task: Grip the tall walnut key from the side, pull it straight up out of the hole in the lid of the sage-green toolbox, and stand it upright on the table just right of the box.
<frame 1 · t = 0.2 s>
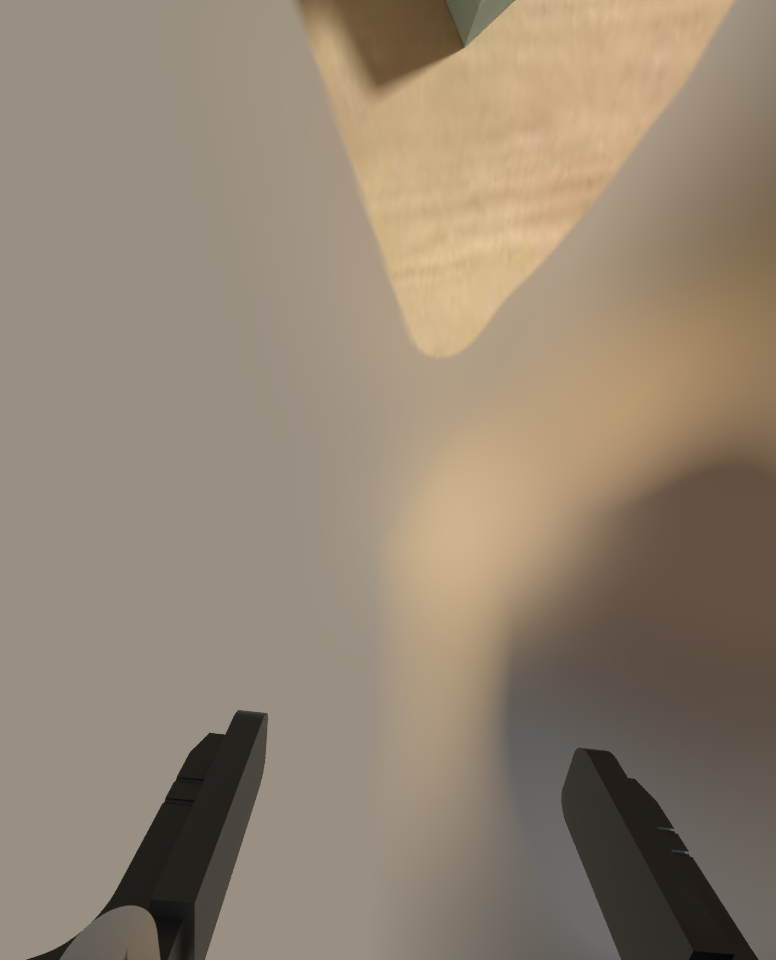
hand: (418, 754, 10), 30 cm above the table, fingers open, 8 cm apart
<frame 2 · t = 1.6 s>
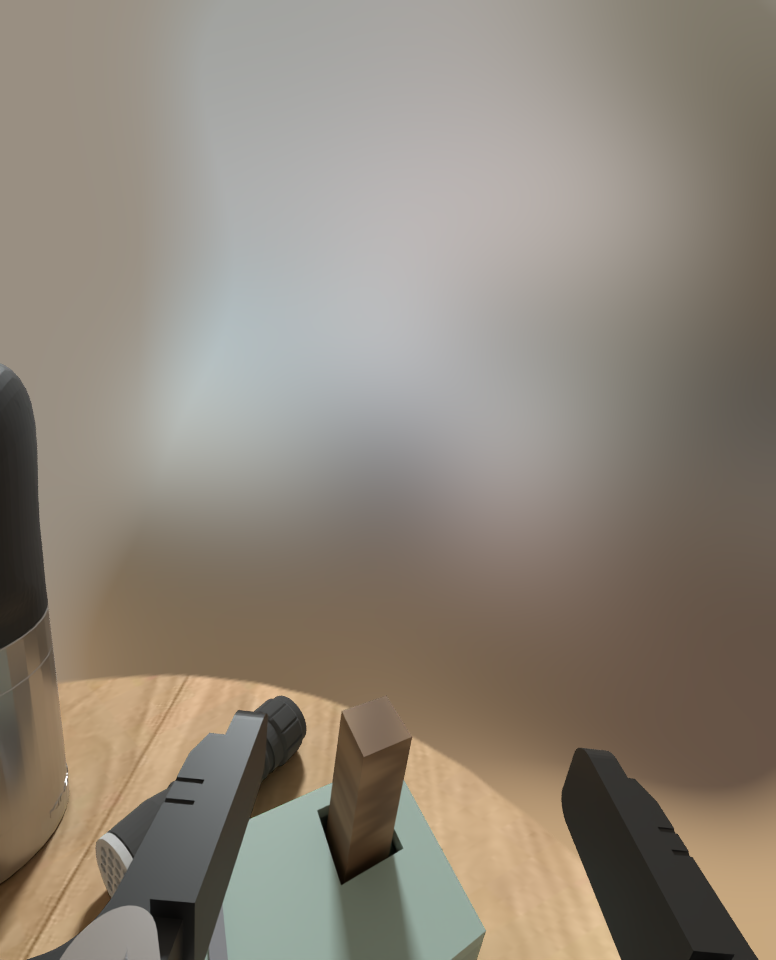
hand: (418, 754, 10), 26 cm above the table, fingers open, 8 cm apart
flashlight: (218, 811, 31), on the table
wooden key: (350, 879, 27), point 1 cm above the table, touching toolbox
toolbox: (325, 948, 24), on the table
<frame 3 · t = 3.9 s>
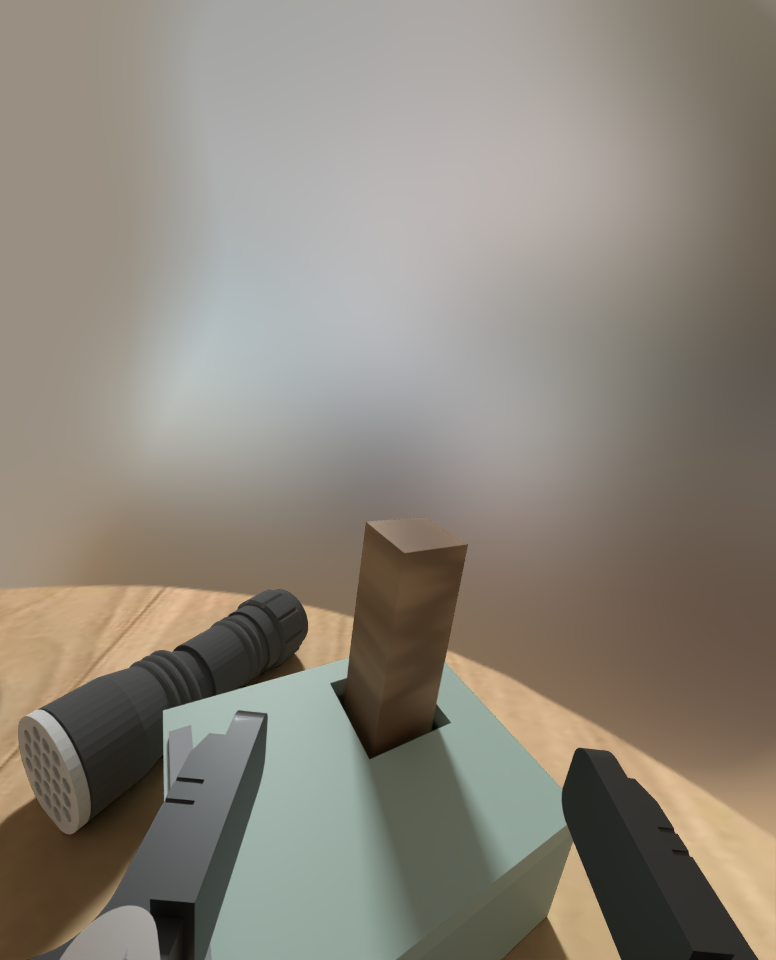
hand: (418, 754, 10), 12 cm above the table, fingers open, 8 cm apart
flashlight: (196, 714, 24), on the table
wooden key: (376, 780, 20), point 1 cm above the table, touching toolbox
toolbox: (345, 861, 17), on the table
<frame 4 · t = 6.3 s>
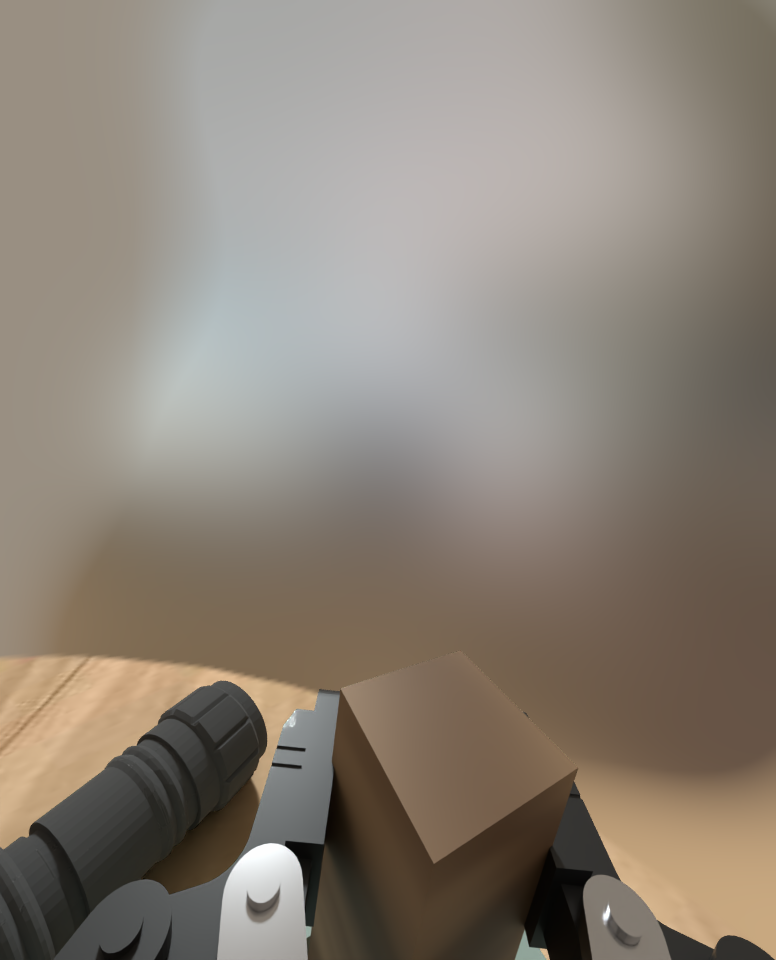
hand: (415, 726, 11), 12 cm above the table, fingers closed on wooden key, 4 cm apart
flashlight: (73, 924, 15), on the table
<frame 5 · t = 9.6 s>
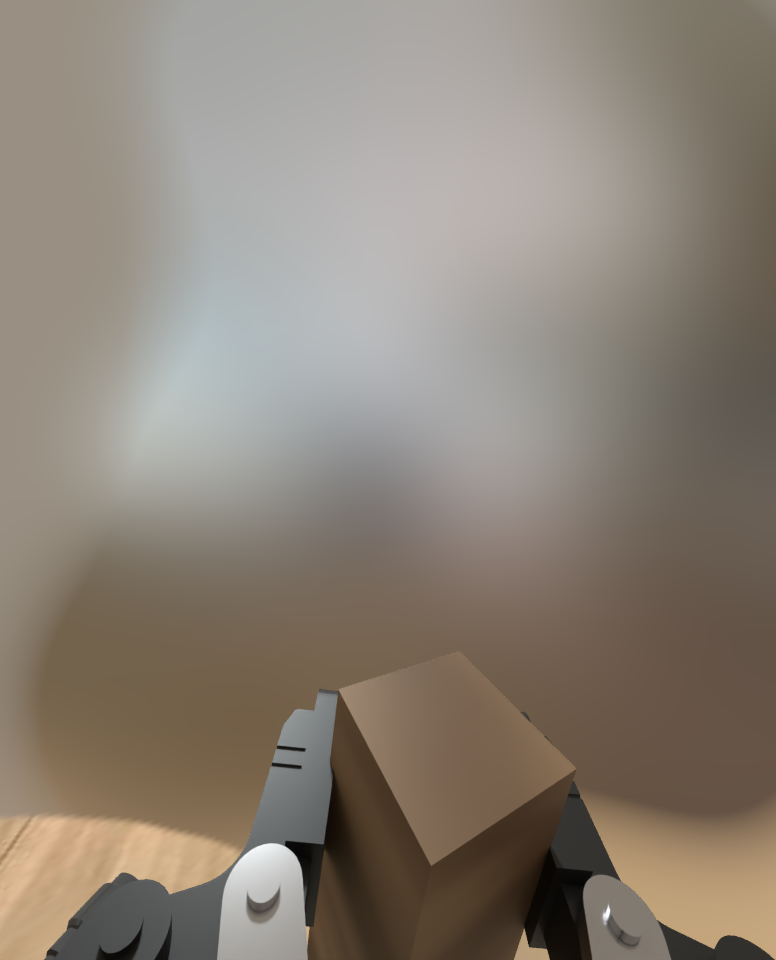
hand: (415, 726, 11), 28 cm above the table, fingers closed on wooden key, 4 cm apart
when the fingers open (12 cm above the table, at t = 13.3 s): wooden key drops 1 cm, on the table.
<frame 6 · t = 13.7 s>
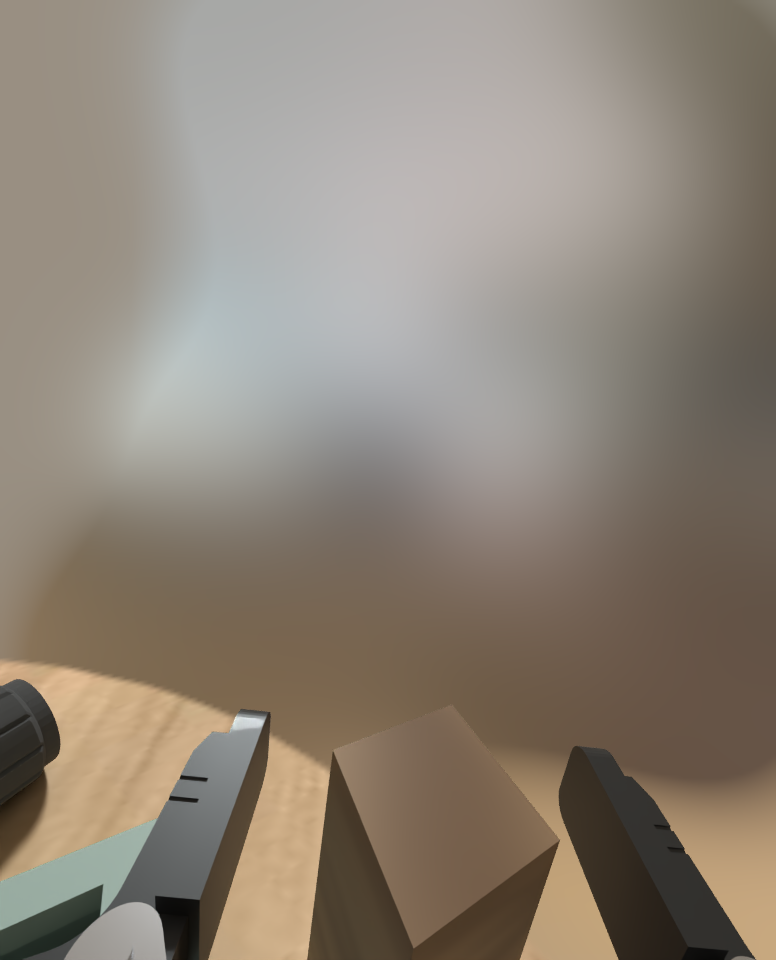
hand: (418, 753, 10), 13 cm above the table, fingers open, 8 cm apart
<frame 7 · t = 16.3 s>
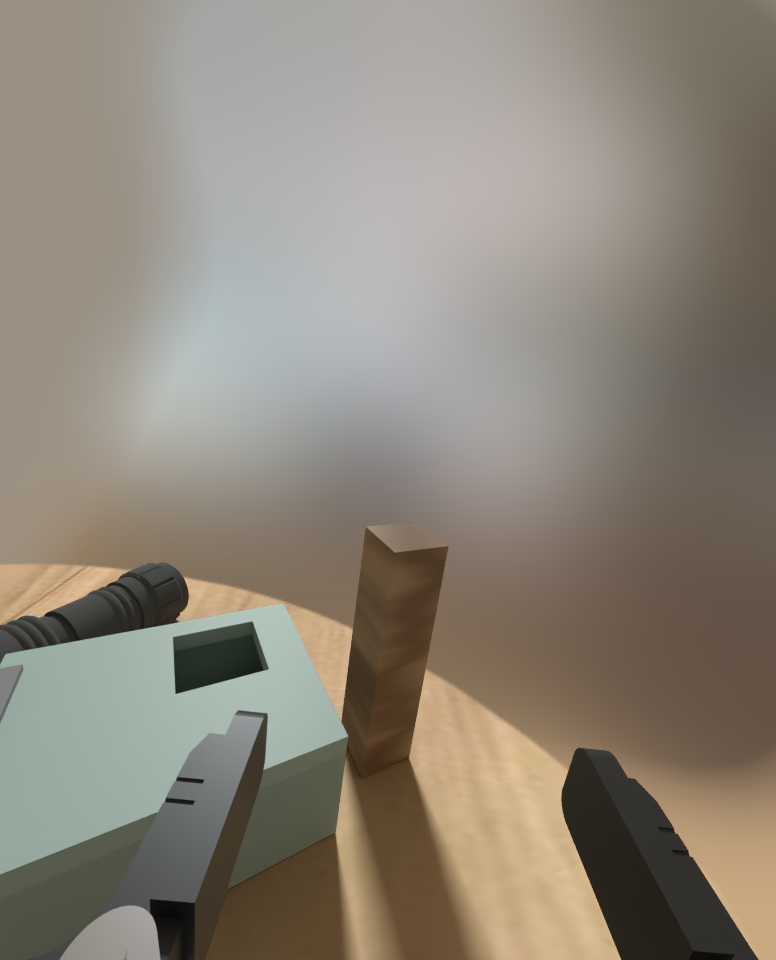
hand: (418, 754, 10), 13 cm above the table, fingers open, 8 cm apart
flashlight: (69, 675, 26), on the table
wooden key: (373, 743, 24), on the table
toolbox: (169, 787, 20), on the table
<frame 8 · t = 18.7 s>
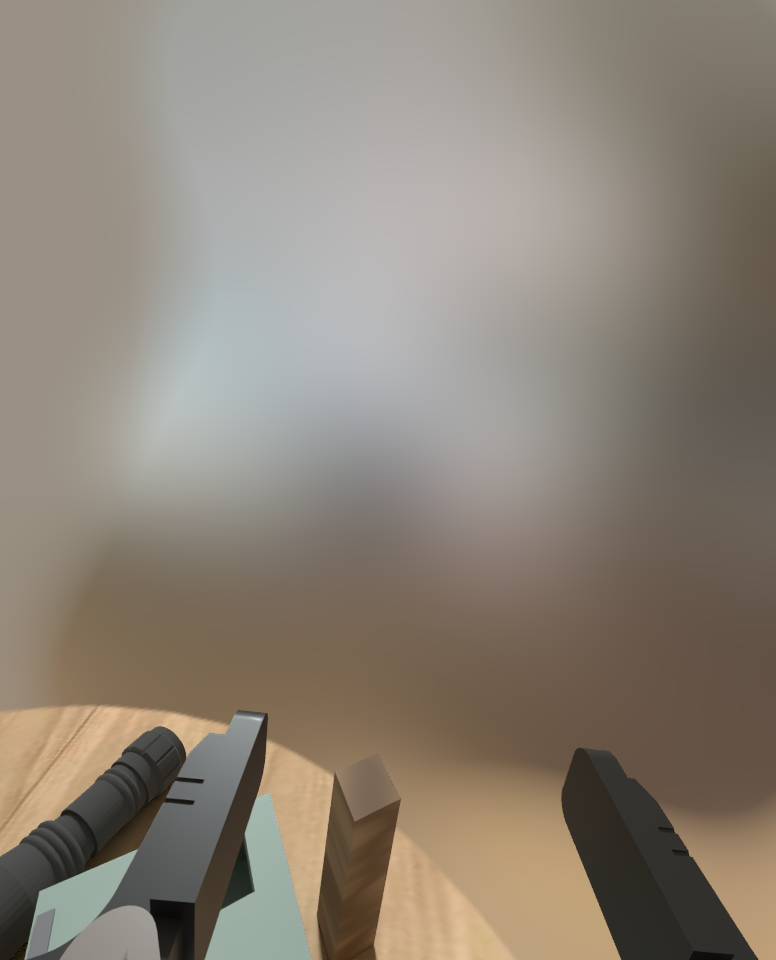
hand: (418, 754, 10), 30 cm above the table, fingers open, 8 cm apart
flashlight: (85, 856, 30), on the table
wooden key: (344, 928, 28), on the table
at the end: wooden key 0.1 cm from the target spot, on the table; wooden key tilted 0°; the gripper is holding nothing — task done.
